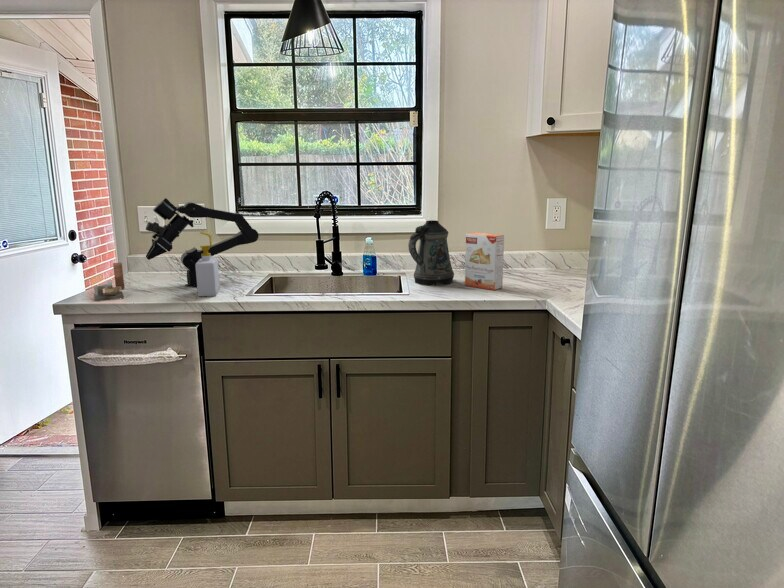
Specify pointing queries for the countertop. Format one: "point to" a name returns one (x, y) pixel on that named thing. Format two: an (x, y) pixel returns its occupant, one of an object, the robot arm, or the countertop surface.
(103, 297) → the base plate
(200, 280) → the soap bottle
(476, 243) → the cracker box
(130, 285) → the countertop surface
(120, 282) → the link
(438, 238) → the beer stein
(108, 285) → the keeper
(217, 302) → the countertop surface
